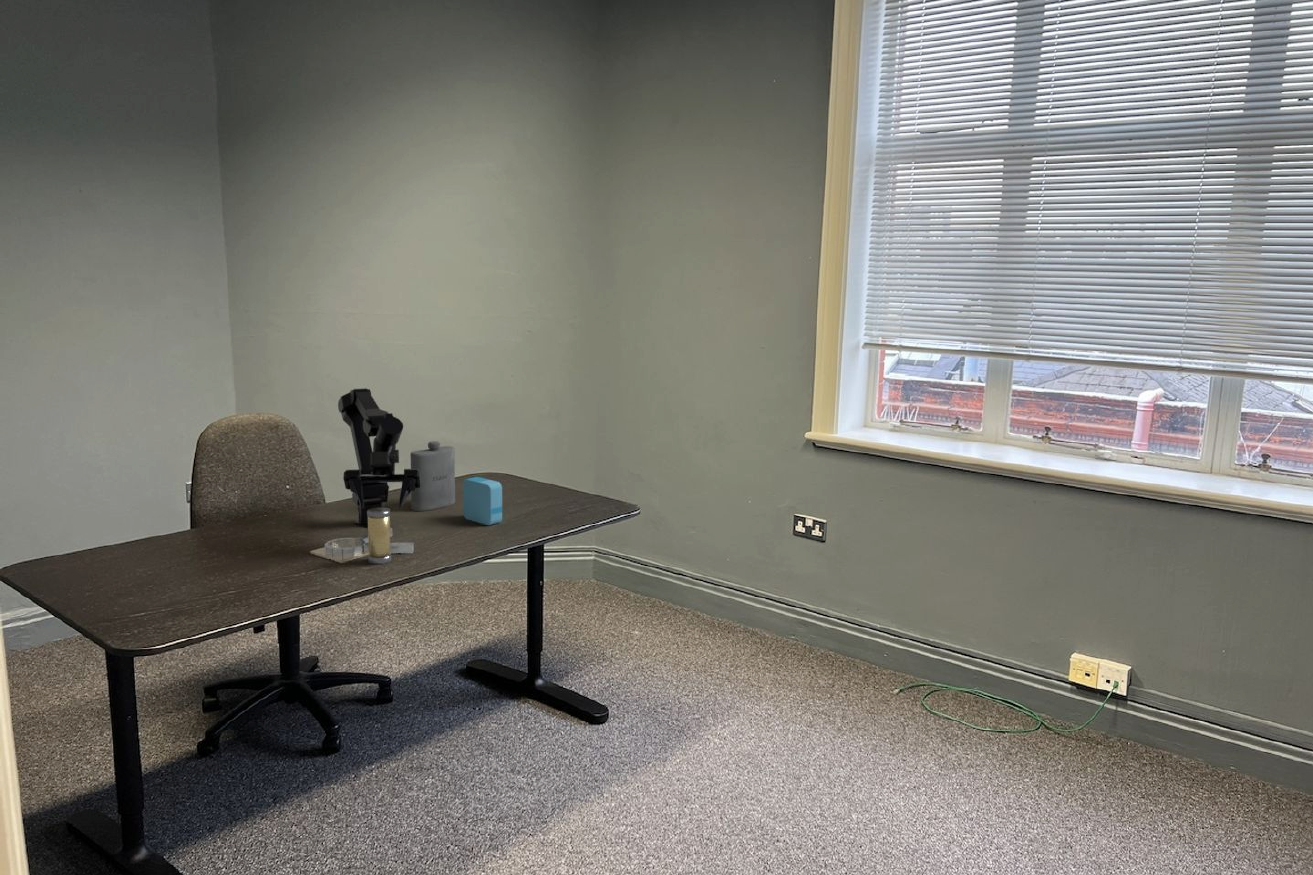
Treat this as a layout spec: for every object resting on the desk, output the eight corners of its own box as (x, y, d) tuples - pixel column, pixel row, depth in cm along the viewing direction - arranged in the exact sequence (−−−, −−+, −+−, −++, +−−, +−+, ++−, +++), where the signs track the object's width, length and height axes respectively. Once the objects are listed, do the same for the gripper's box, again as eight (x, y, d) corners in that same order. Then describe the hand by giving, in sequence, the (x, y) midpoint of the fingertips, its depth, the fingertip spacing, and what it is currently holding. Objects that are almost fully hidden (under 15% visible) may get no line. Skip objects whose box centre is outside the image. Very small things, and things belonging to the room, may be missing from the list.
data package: (502, 523, 266) (502, 482, 263) (490, 526, 262) (490, 485, 260) (474, 515, 273) (474, 475, 271) (462, 518, 270) (462, 478, 267)
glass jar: (364, 561, 229) (362, 510, 227) (381, 556, 234) (380, 506, 231) (378, 565, 226) (377, 514, 224) (396, 560, 231) (394, 509, 228)
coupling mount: (310, 553, 234) (309, 544, 234) (382, 533, 253) (382, 524, 252) (361, 569, 223) (360, 559, 223) (432, 547, 242) (432, 538, 242)
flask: (420, 513, 274) (419, 446, 270) (408, 509, 277) (406, 443, 273) (460, 503, 285) (459, 440, 281) (448, 500, 289) (447, 437, 285)
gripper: (342, 438, 234) (338, 491, 225) (419, 438, 237) (417, 490, 229) (347, 462, 243) (343, 514, 234) (421, 461, 246) (420, 512, 238)
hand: (381, 507), depth 233 cm, fingers open, 9 cm apart
